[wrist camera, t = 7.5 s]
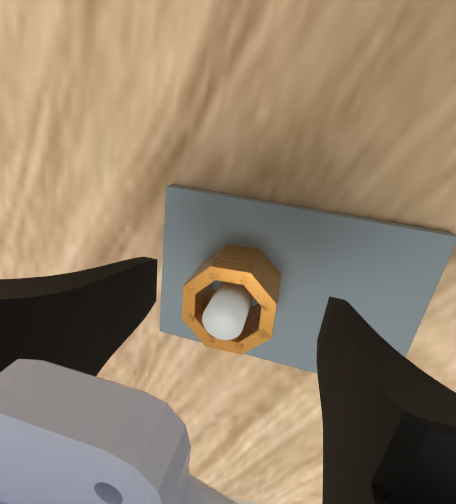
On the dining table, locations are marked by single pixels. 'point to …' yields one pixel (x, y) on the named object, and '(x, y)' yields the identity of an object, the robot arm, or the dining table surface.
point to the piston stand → (300, 269)
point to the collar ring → (239, 272)
